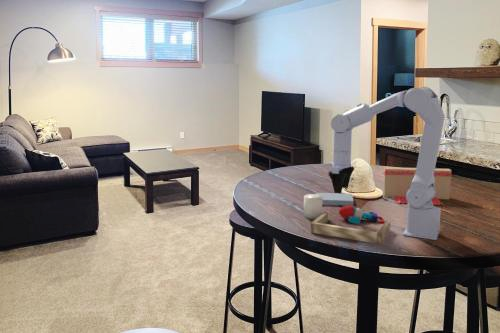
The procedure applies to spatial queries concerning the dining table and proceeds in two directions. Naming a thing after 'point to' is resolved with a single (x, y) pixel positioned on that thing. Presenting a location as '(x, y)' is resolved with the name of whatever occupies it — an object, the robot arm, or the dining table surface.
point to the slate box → (337, 199)
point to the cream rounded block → (313, 206)
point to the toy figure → (358, 215)
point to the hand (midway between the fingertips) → (341, 190)
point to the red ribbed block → (401, 179)
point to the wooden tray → (348, 231)
